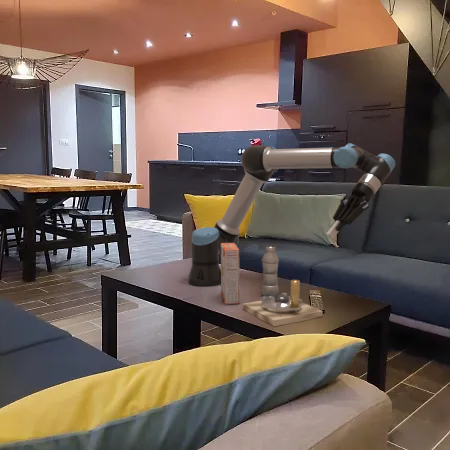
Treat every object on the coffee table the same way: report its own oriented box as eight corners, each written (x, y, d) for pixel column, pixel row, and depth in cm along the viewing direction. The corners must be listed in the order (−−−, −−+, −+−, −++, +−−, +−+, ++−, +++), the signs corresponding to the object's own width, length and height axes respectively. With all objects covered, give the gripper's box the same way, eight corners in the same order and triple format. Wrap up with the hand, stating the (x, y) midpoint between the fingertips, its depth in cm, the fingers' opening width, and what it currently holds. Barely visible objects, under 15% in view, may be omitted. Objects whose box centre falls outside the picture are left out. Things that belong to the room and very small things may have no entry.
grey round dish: (254, 304, 168) (254, 273, 167) (286, 298, 175) (286, 269, 174) (280, 317, 155) (280, 284, 153) (313, 310, 161) (314, 279, 160)
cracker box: (220, 294, 189) (220, 242, 186) (235, 293, 189) (235, 242, 186) (223, 304, 175) (223, 249, 172) (239, 304, 176) (240, 249, 173)
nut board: (242, 309, 170) (242, 303, 170) (287, 301, 180) (287, 295, 179) (274, 326, 153) (274, 320, 152) (322, 316, 162) (322, 310, 162)
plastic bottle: (277, 298, 183) (278, 248, 180) (260, 297, 184) (261, 247, 181) (279, 294, 189) (280, 245, 186) (262, 293, 190) (263, 244, 187)
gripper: (384, 196, 171) (347, 246, 166) (357, 194, 183) (323, 240, 177) (374, 182, 168) (336, 232, 162) (348, 181, 179) (312, 227, 174)
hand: (329, 236), depth 170 cm, fingers closed
